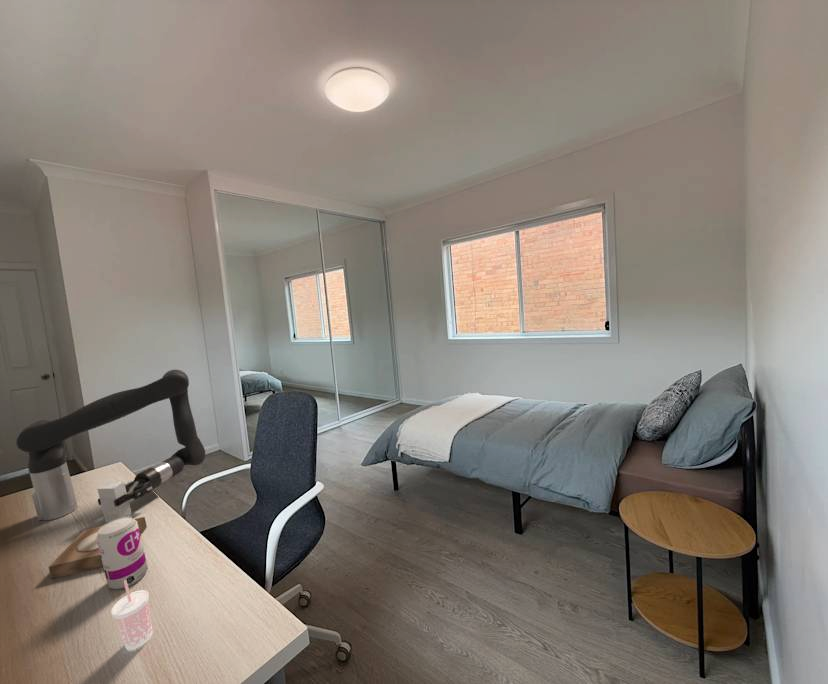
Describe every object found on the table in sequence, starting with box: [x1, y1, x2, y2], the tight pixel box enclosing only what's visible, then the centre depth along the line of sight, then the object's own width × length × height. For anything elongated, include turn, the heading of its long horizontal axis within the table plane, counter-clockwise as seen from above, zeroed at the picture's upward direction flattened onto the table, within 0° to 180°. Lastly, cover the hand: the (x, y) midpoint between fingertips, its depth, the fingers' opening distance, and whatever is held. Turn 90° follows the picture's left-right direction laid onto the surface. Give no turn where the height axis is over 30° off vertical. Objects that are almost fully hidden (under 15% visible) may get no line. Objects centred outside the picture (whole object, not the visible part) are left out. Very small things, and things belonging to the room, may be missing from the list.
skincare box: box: [97, 481, 133, 523], centre depth 123 cm, size 6×4×12 cm
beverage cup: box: [111, 579, 154, 651], centre depth 76 cm, size 6×6×14 cm
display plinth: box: [48, 516, 148, 580], centre depth 107 cm, size 16×16×4 cm
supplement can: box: [97, 515, 149, 590], centre depth 94 cm, size 8×8×15 cm
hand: (107, 503), depth 120 cm, fingers closed on skincare box, 6 cm apart
